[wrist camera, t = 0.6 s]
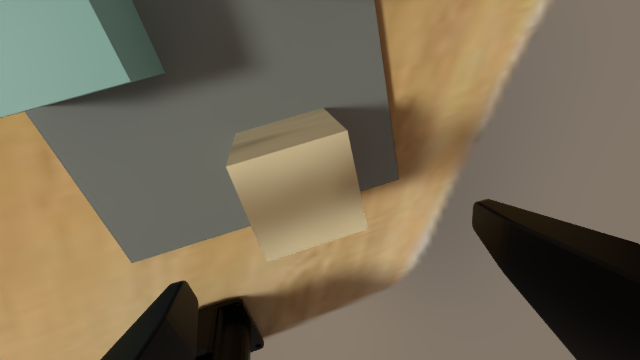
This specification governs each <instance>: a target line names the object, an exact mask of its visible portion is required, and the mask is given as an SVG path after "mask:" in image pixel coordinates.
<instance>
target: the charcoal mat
mask: <svg viewBox="0 0 640 360" xmlns="http://www.w3.org/2000/svg"><path fill="white" fill-rule="evenodd" d="M132 2H133V4H134V6H135V8H136V10H137V12H138V15H139V17H140V19H141V21H142V23H143V26H144V28H145V30H146V32H147V34H148V36H149V39H150V41H151V43H152V45H153V47H154V49H155V52H156V54H157V56H158V58H159V60H160V63H161V65H162V67H163V69H164V71H165V73H164V74H160V75H156V76H153V77H149V78H145V79H142V80H138V81H135V82H131V83H127V84H124V85H120V86H116V87H113V88H109V89H105V90H102V91H98V92H95V93H91V94H87V95H84V96H80V97H76V98H73V99H69V100H65V101H62V102H58V103H54V104H51V105H47V106H44V107H40V108H36V109H32V110H28V111H25V112H26V114H27V115H28V117H29V118H30V120H31V121H32V122H33V124H34V125H35V127H36V128H37V129H38V131H39V132H40V134H41V135H42V137H43V138H44V139H45V141H46V142H47V144H48V145H49V146H50V148H51V149H52V151H53V152H54V153H55V155H56V156H57V158H58V159H59V161H60V162H61V163H62V165H63V166H64V168H65V169H66V170H67V172H68V173H69V175H70V176H71V178H72V179H73V180H74V182H75V183H76V185H77V186H78V187H79V189H80V190H81V192H82V193H83V195H84V196H85V197H86V199H87V200H88V202H89V203H90V204H91V206H92V207H93V209H94V210H95V211H96V213H97V214H98V216H99V217H100V219H101V220H102V221H103V223H104V224H105V226H106V227H107V228H108V230H109V231H110V233H111V234H112V236H113V237H114V238H115V240H116V241H117V243H118V244H119V245H120V247H121V248H122V250H123V251H124V252H125V254H126V255H127V257H128V258H129V260H130V261H131V262H132V263H134V262H137V261H140V260H143V259H146V258H150V257H153V256H156V255H159V254H162V253H165V252H169V251H172V250H175V249H178V248H181V247H185V246H188V245H191V244H194V243H197V242H200V241H204V240H207V239H210V238H213V237H216V236H220V235H223V234H226V233H229V232H232V231H235V230H239V229H242V228H245V227H248V226H251V224H250V222H249V219H248V217H247V215H246V213H245V210H244V208H243V206H242V203H241V201H240V199H239V196H238V194H237V192H236V189H235V187H234V185H233V182H232V180H231V178H230V175H229V173H228V171H227V168H226V164H227V161H228V158H229V154H230V151H231V148H232V144H233V141H234V137H235V134H236V133H239V132H242V131H246V130H249V129H253V128H256V127H260V126H263V125H266V124H270V123H273V122H277V121H280V120H283V119H287V118H290V117H294V116H297V115H301V114H304V113H307V112H311V111H314V110H318V109H321V108H324V109H325V110H326V111H327V112H328V113H329V114H330V115H331V116H332V117H334V118H335V119H336V120H337V121H338V122H339V123H340V124H341V125H342V126H343V127H344V128H345V129H346V130H347V131H348V136H349V141H350V145H351V150H352V155H353V160H354V165H355V169H356V174H357V179H358V184H359V188H360V191H363V190H366V189H369V188H372V187H375V186H379V185H382V184H385V183H388V182H391V181H394V180H398V179H399V177H398V169H397V162H396V155H395V147H394V140H393V133H392V125H391V118H390V111H389V104H388V96H387V89H386V82H385V74H384V67H383V60H382V53H381V45H380V38H379V31H378V23H377V16H376V9H375V2H374V0H132Z"/></svg>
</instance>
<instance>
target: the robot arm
mask: <svg viewBox="0 0 640 360" xmlns="http://www.w3.org/2000/svg"><path fill="white" fill-rule="evenodd" d="M472 226H473V229H474V231H475V232H476V234H477V235H478V236H479V238H480V240H481V241H482V242H483V244H484V245H485V247H486V248H487V250H488V251H489V253H490V254H491V256H492V257H493V259H494V260H495V261H496V263H497V265H498V266H499V267H500V268H501V270H502V271H503V273H504V274H505V275H506V276H507V278H508V279H509V280H510V281H511V282H512V284H513V285H514V286H515V287H516V288H517V289H518V291H519V292H520V293H521V294H522V295H523V297H524V298H525V299H526V300H527V301H528V303H529V304H530V305H531V306H532V307H533V309H535V311H536V312H537V313H538V314H539V316H540V317H541V318H542V319H543V320H544V321H545V323H546V324H547V325H548V326H549V328H550V329H551V330H552V331H553V332H554V333H555V334H556V336H557V337H558V338H559V339H560V341H561V342H562V343H563V344H564V345H565V346H566V348H567V349H568V350H569V351H570V352H571V353H572V355H573V356H574V357H575V358H576V360H640V244H638V243H635V242H632V241H628V240H625V239H622V238H618V237H615V236H612V235H608V234H605V233H601V232H598V231H594V230H591V229H588V228H585V227H581V226H578V225H574V224H571V223H568V222H564V221H561V220H558V219H554V218H551V217H548V216H544V215H541V214H537V213H534V212H530V211H527V210H524V209H521V208H517V207H514V206H510V205H507V204H504V203H500V202H497V201H493V200H490V199H485V200H481V201H477V202H475V203H474V205H473V216H472ZM236 304H239V305H236ZM263 346H264V341H263V339H262V337H261V335H260V333H259V331H258V329H257V327H256V325H255V323H254V321H253V319H252V317H251V315H250V314H249V312H248V310H247V308H246V306H245V304H244V302H243V300H242V299H238V298H237V299H233V300H230V301H227V302H224V303H221V304H218V305H215V306H212V307H209V308H206V309H203V310H200V311H198V300H197V297H196V296H195V294H194V292H193V291H192V289H191V288H190V286H189V284H188V283H187V282H186V281H180V282H176V283H172V284H170V285H169V286H168V287H167V288H166V289H165V290H164V291H163V292H162V294H161V295H160V296H159V297H158V298H157V299H156V300H155V301H154V302H153V303H152V304H151V305H150V307H149V308H148V309H147V310H146V311H145V312H144V313H143V314H142V315H141V316H140V317H139V318H138V320H137V321H136V322H135V323H134V324H133V325H132V326H131V327H130V328H129V329H128V330H127V331H126V333H125V334H124V335H123V336H122V337H121V338H120V339H119V340H118V341H117V342H116V343H115V344H114V346H113V347H112V348H111V349H110V350H109V351H108V352H107V353H106V354H105V355H104V356H103V357H102V359H101V360H250V353H251V352H253V351H256V350H259V349H261V348H263Z"/></svg>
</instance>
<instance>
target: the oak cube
mask: <svg viewBox="0 0 640 360" xmlns="http://www.w3.org/2000/svg"><path fill="white" fill-rule="evenodd" d="M226 168H227V171H228V173H229V175H230V178H231V180H232V182H233V185H234V187H235V189H236V192H237V194H238V196H239V199H240V201H241V203H242V206H243V208H244V210H245V213H246V215H247V217H248V219H249V222H250V224H251V226H252V229H253V231H254V233H255V236H256V238H257V240H258V243H259V245H260V247H261V250H262V252H263V254H264V257H265V259H266V261H267V262H268V261H271V260H274V259H277V258H280V257H284V256H287V255H290V254H293V253H296V252H299V251H302V250H305V249H308V248H311V247H314V246H318V245H321V244H324V243H327V242H330V241H333V240H336V239H339V238H342V237H345V236H348V235H351V234H355V233H358V232H361V231H364V230H367V229H368V227H367V222H366V217H365V212H364V208H363V203H362V198H361V193H360V188H359V184H358V179H357V174H356V169H355V165H354V160H353V155H352V150H351V145H350V141H349V136H348V131H347V130H346V129H345V128H344V127H343V126H342V125H341V124H340V123H339V122H338V121H337V120H336V119H335V118H334V117H332V116H331V115H330V114H329V113H328V112H327V111H326V110H325V109H324V108H321V109H318V110H314V111H311V112H307V113H304V114H301V115H297V116H294V117H290V118H287V119H283V120H280V121H277V122H273V123H270V124H266V125H263V126H260V127H256V128H253V129H249V130H246V131H242V132H239V133H236V134H235V137H234V141H233V144H232V148H231V151H230V154H229V158H228V161H227V164H226Z"/></svg>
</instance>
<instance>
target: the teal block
mask: <svg viewBox="0 0 640 360" xmlns="http://www.w3.org/2000/svg"><path fill="white" fill-rule="evenodd" d="M164 73H165V71H164V69H163V67H162V65H161V63H160V60H159V58H158V56H157V54H156V52H155V49H154V47H153V45H152V43H151V41H150V39H149V36H148V34H147V32H146V30H145V28H144V26H143V23H142V21H141V19H140V17H139V15H138V12H137V10H136V8H135V6H134V4H133V2H132V0H0V118H2V117H5V116H9V115H13V114H17V113H21V112H24V111H28V110H32V109H36V108H40V107H44V106H47V105H51V104H54V103H58V102H62V101H65V100H69V99H73V98H76V97H80V96H84V95H87V94H91V93H95V92H98V91H102V90H105V89H109V88H113V87H116V86H120V85H124V84H127V83H131V82H135V81H138V80H142V79H145V78H149V77H153V76H156V75H160V74H164Z"/></svg>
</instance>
